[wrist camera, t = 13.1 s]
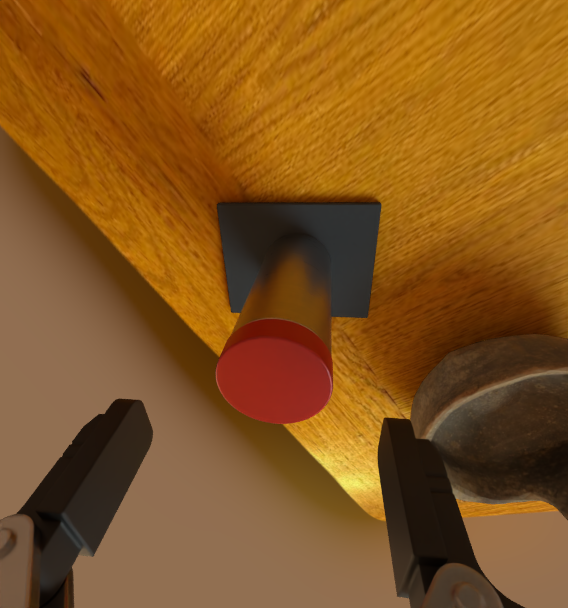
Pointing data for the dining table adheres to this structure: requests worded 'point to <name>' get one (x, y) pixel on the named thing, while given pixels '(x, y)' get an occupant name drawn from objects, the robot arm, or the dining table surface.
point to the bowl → (500, 419)
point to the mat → (309, 221)
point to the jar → (282, 337)
